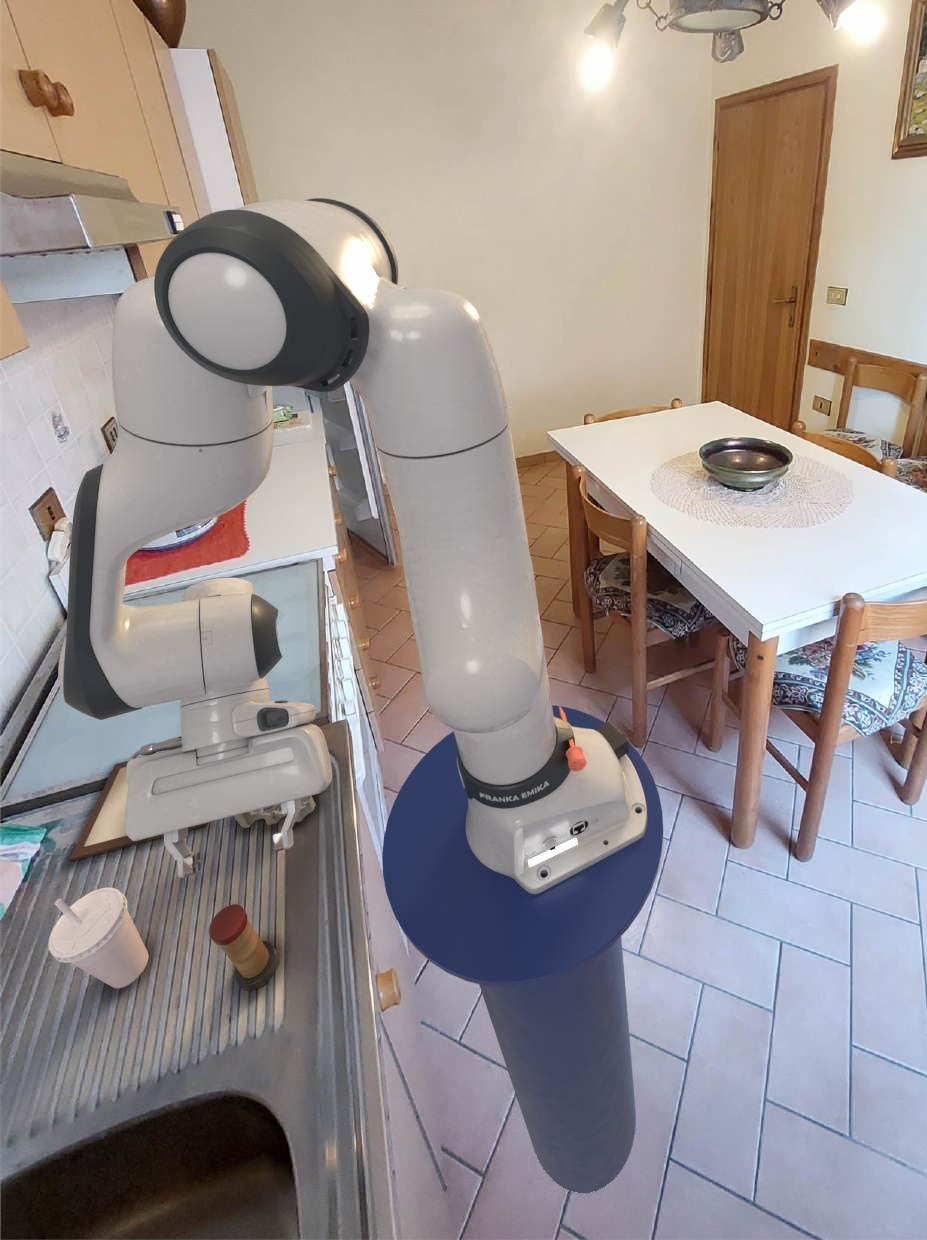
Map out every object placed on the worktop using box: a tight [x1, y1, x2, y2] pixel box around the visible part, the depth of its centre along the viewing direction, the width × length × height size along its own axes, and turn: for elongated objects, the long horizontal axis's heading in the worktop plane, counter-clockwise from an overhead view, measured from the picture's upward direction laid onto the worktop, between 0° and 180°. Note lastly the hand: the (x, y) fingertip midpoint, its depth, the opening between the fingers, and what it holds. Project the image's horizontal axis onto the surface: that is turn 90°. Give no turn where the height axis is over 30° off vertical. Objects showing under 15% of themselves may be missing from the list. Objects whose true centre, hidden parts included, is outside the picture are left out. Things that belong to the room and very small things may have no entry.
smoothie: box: [47, 887, 149, 989], centre depth 61 cm, size 6×6×14 cm
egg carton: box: [233, 795, 316, 829], centre depth 79 cm, size 11×8×4 cm
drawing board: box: [69, 749, 209, 862], centre depth 82 cm, size 16×14×1 cm
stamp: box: [208, 903, 280, 992], centre depth 61 cm, size 4×4×9 cm
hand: (237, 861), depth 63 cm, fingers open, 8 cm apart
